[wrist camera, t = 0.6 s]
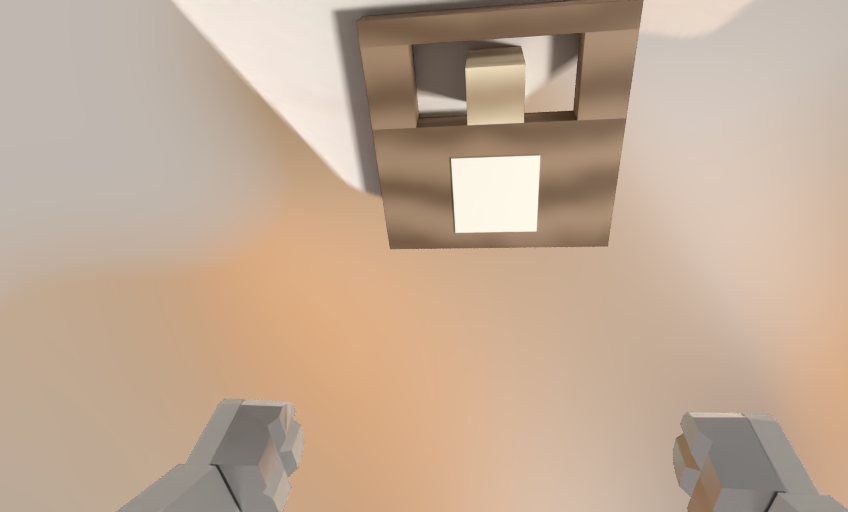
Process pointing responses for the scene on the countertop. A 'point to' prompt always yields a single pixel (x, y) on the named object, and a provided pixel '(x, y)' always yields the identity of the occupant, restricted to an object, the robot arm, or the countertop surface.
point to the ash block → (495, 86)
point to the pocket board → (501, 132)
